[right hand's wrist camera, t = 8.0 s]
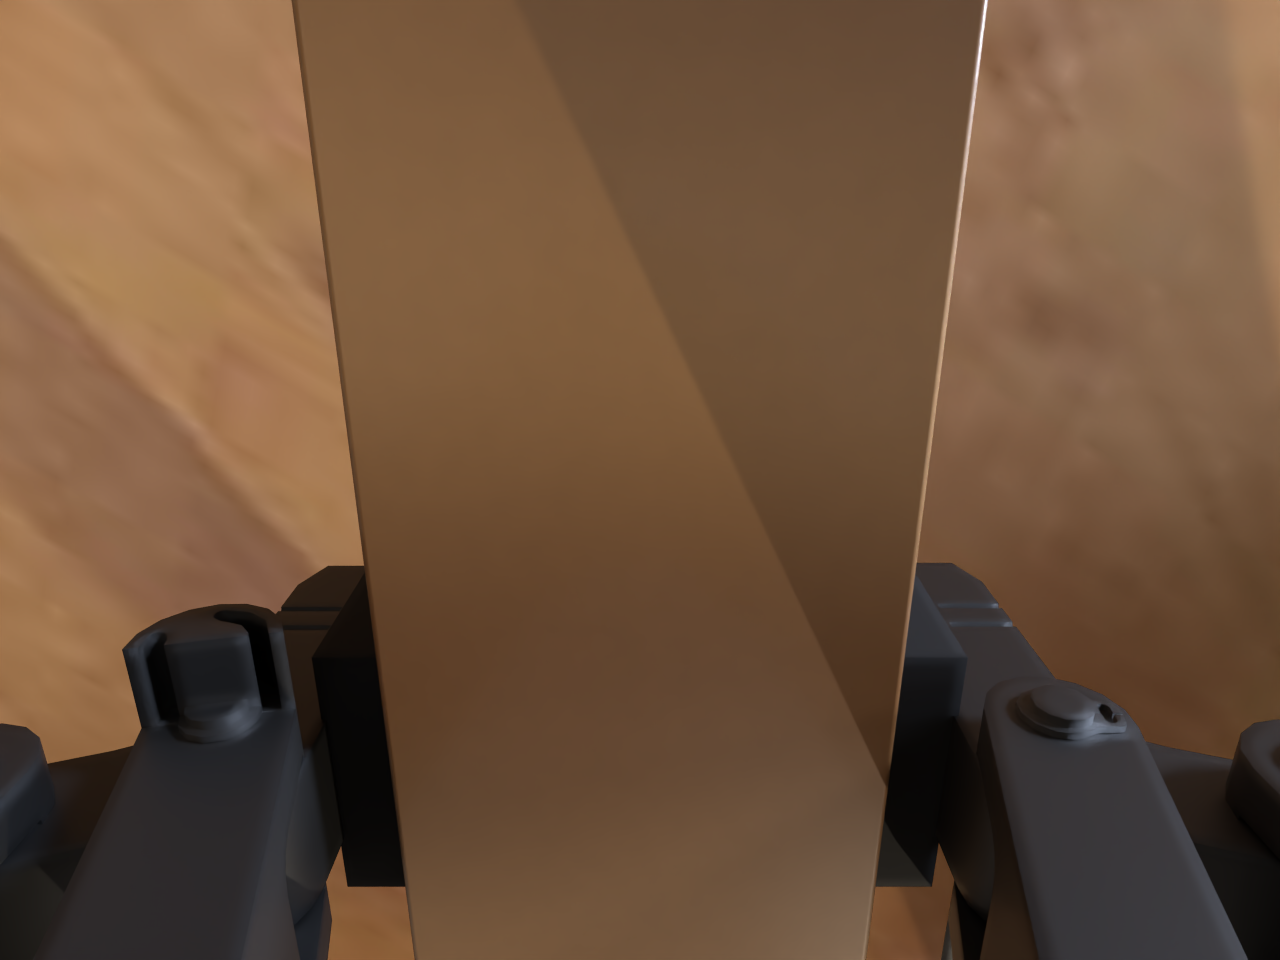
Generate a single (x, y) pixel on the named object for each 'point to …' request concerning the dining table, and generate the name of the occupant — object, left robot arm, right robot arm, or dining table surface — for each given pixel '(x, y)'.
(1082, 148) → the dining table surface
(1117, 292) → the dining table surface
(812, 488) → the post
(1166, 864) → the right robot arm
